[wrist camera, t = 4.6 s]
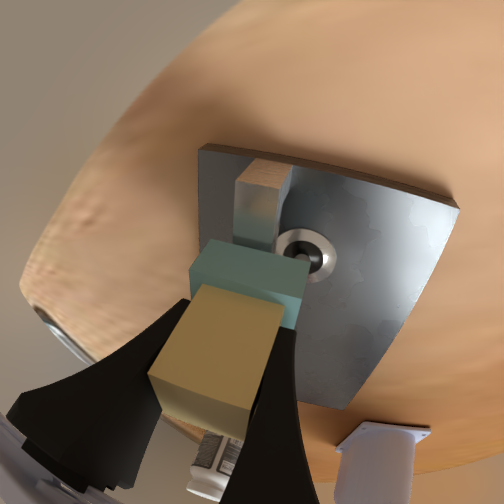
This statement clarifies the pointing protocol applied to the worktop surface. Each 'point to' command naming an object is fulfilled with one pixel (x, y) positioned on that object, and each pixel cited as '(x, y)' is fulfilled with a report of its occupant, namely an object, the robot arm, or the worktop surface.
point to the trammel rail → (260, 204)
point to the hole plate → (338, 259)
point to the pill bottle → (213, 465)
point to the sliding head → (227, 336)
